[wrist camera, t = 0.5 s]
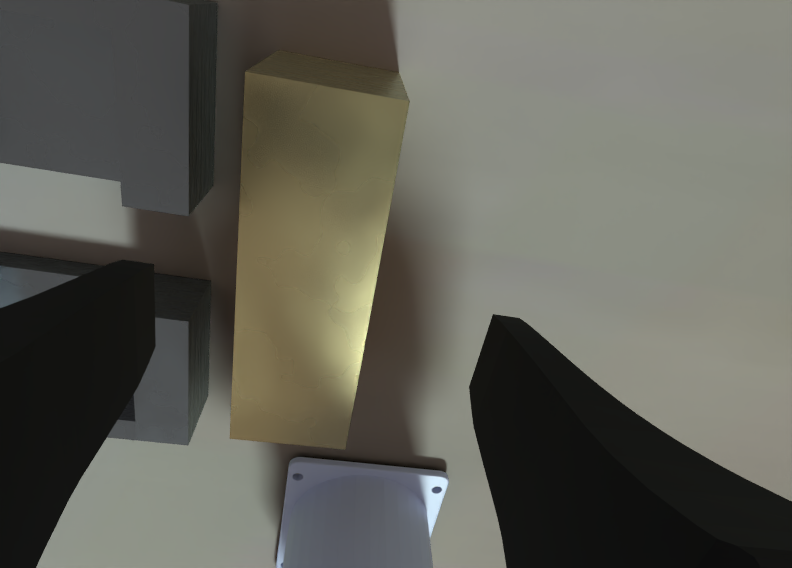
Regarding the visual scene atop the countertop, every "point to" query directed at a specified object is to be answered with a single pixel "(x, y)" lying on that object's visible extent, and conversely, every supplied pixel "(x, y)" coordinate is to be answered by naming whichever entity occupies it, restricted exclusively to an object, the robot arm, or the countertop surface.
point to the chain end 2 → (171, 360)
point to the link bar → (309, 241)
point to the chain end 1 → (113, 94)
